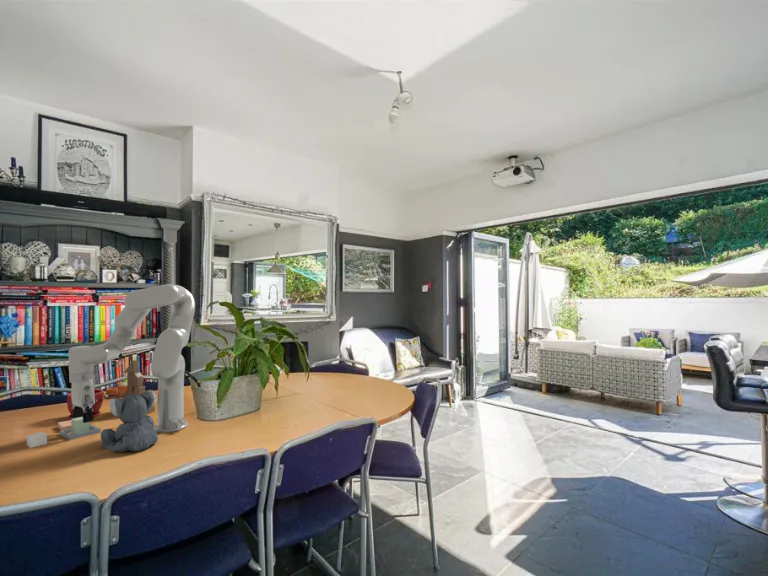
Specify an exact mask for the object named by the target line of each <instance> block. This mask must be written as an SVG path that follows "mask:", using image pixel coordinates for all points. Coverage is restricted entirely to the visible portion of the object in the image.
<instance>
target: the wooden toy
mask: <svg viewBox="0 0 768 576" xmlns="http://www.w3.org/2000/svg"><path fill="white" fill-rule="evenodd" d="M124 373H126V374H127V375H126V377H127V378H126V380H127V390H126V392H125V393H123V394H122V397H121V399H124V398H125V397H126V396H128V395H133V394H136V395H141V394H142V393H143V392H146V386H145V385H144V380H143V379H144V376H143V374H142V372H140V371H139V359H135V360H132V361H131V363H130V364H128V367H126V369H125V370H124ZM155 406H156V403H155V404H154V406H153V407H152V408H151V409H149V410H147V414H146V415H148V414H152V413H155V412H156V411H155V409H156V407H155Z"/></svg>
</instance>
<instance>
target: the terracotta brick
mask: <svg viewBox="0 0 768 576" xmlns="http://www.w3.org/2000/svg"><path fill="white" fill-rule="evenodd" d="M57 428H58V429H59V430H60V431H63V430H68V429H71V420H69V419H68V420H63V421H59V422H57Z"/></svg>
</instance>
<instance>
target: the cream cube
mask: <svg viewBox="0 0 768 576" xmlns="http://www.w3.org/2000/svg"><path fill="white" fill-rule="evenodd" d="M47 444H48V434H47V433H46V432H44V431H40V432H36V433H32V434H28V435H26V446H27V447H29V448H30V449H31V448H32V447H33V448H35V447H36V446H37V447H40V445H41V446H45V445H47Z"/></svg>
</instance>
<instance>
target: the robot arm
mask: <svg viewBox="0 0 768 576" xmlns="http://www.w3.org/2000/svg"><path fill="white" fill-rule="evenodd" d="M124 305H125V306H124V307H123V308H122V310H121V311H120V312H119V313H118V315H117V316H116V317H115V318H114V325H115V327H114V330H113V332H112V333H111V335H110V336H109V337H108V339H106V341H105V342H104V343H100V344H97V345H93V346H90V345H78V346H72V347H71V348H69V349H68V372H69V373H68V376H69V377H68V378H69V381H68V382H69V383H70V384H71V390H70V393H71V398H72V404H73V407H72V408H73V419H74V418H79V417H83V423H87V422H92V421H94V418H93V405H94V404H95V394H94V387H95V386H94V381H93V380H94V365H101V364H105V363H108V362H110V361H114V360H115V359H117V358H118V357H119V356H120V355H121V353H122V352H123V351H124V350H125V348H126V347H127V346H128V345H129V343H130V342H131V340H132V338H133V336H134V334H135V332H136V330H137V329H138V328H139V326H140V325H141V323H142V322H143V321H144V319H145V318H146V317H147V316H148V314H149V313H150V312H151V310H152V309H156V308H161V307H164V306H165V307H167V306H173V310H172V312H171V315H170V318H169V323H168V326H167V328H166V329H164V330H163V331H162V332H161V333H160V334H159V335H158V338H157V339H156V340H157V341H156V343H155V347H154V350H153V351H154V352H153V356H152V358H151V359H152V360H151V363H150V372H151V373H152V375H153V376H154V378H156V379H158V381H157V424H156V425H154V429H155V431H156V433H173V432H177V431H181V430H183V429H185V428H187V427H188V425H189V424H188V421H187V420H185V416H184V409H185V407H184V405H185V404H184V403H185V402H184V399H185V397H184V394H185V393H184V389H185V385H184V384H185V371H186V362H185V361H186V360H185V358H184V356H183V355H182V350H183V348H185V347H186V346H187V345H188V344H189V340H190V336H191V335H190V334H191V330H192V326H193V319H194V316H195V312H196V301H195V298H194V295H193V294H192V293H191V292H190V291H189V290H188V289H186V288H185V287H183V286H181V285H178V284H169V283H167V284H161V285H156V286H152V287H151V286H150V287H146V288H141V289H135V290H132V291H130V292H128V293H127V294H126V296H125V297H124ZM81 407H82V408H81ZM85 407H86V408H85ZM83 411H84V413H83Z"/></svg>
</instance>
